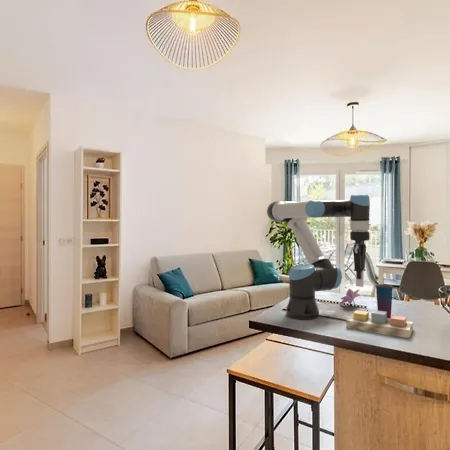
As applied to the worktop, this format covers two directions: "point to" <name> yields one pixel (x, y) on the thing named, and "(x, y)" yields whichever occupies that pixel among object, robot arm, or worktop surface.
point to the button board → (380, 327)
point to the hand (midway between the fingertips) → (359, 286)
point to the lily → (349, 296)
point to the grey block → (379, 316)
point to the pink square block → (398, 321)
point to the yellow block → (361, 315)
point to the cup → (384, 298)
